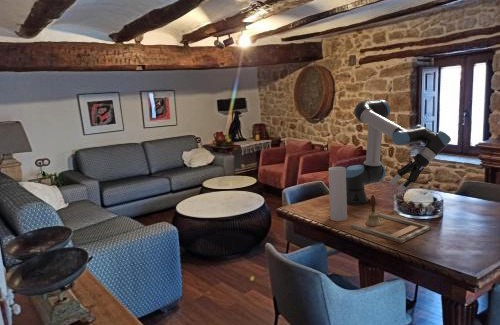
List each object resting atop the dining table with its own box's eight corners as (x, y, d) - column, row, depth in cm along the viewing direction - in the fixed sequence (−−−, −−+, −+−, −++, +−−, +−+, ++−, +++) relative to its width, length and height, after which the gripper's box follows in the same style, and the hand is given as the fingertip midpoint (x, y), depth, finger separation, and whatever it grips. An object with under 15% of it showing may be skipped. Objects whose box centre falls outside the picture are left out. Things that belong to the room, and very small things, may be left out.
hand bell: (362, 222, 202) (361, 194, 199) (374, 219, 204) (373, 192, 201) (372, 227, 194) (372, 198, 191) (385, 224, 197) (384, 195, 194)
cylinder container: (347, 220, 206) (346, 169, 200) (330, 221, 208) (328, 169, 202) (346, 215, 215) (345, 165, 209) (330, 215, 217) (328, 166, 211)
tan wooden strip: (411, 225, 192) (411, 224, 192) (419, 227, 188) (419, 226, 188) (387, 236, 180) (387, 236, 180) (394, 239, 177) (394, 238, 177)
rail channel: (379, 215, 210) (379, 213, 210) (430, 229, 185) (430, 226, 185) (351, 226, 197) (351, 224, 196) (401, 243, 172) (401, 240, 172)
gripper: (440, 166, 178) (408, 198, 181) (420, 158, 202) (392, 186, 206) (428, 156, 177) (397, 188, 181) (410, 149, 202) (382, 177, 205)
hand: (394, 187), depth 193 cm, fingers open, 13 cm apart
